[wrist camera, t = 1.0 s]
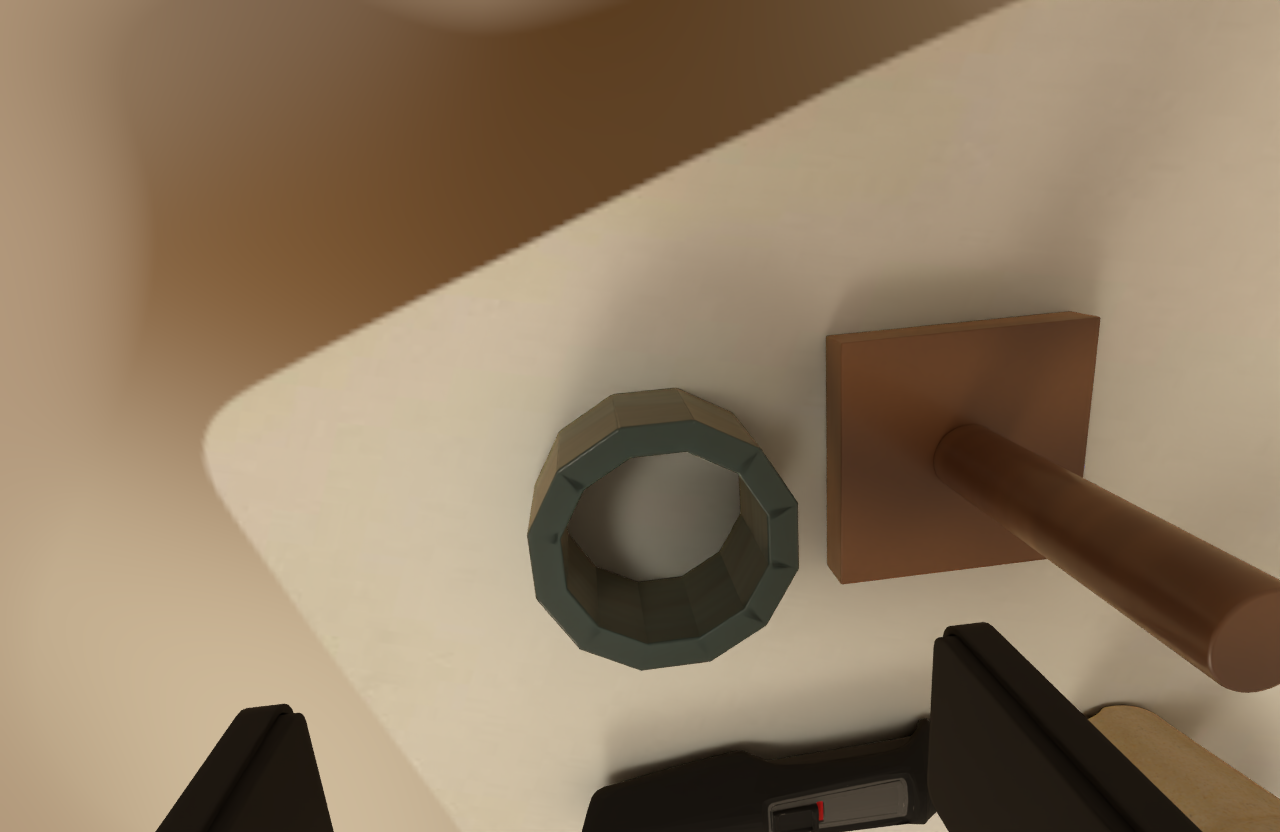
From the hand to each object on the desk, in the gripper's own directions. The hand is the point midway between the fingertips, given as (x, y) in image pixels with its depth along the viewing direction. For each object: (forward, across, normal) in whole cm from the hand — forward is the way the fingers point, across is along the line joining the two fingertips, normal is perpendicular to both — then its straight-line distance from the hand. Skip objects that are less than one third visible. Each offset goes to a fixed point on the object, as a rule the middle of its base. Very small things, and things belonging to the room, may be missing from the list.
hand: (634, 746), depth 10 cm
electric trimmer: (+15, -6, +16) cm, 22 cm away
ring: (+15, -2, +2) cm, 15 cm away
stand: (+15, -13, +1) cm, 20 cm away
